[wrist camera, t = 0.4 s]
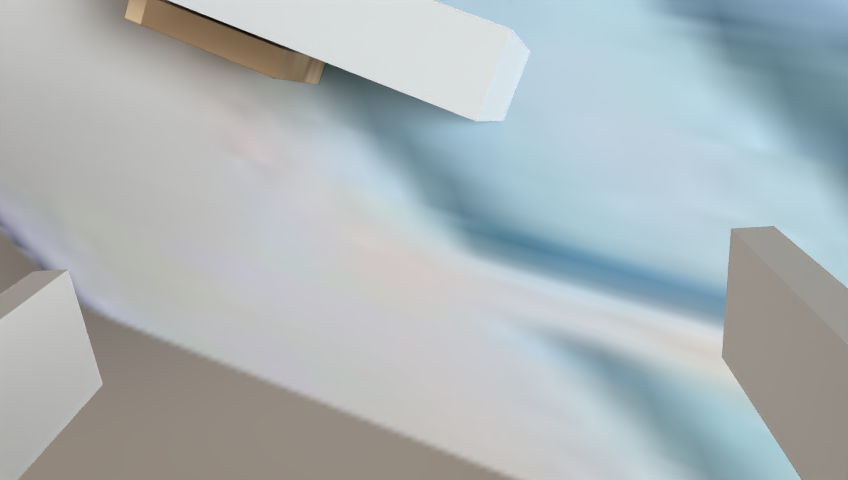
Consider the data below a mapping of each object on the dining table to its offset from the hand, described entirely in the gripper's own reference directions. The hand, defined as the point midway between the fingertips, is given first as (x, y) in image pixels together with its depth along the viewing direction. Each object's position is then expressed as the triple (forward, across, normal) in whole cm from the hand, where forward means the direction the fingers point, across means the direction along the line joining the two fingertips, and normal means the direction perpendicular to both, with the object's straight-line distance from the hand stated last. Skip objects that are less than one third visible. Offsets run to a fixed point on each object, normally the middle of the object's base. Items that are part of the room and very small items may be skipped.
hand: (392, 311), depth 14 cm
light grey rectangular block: (+29, -4, +4) cm, 29 cm away
